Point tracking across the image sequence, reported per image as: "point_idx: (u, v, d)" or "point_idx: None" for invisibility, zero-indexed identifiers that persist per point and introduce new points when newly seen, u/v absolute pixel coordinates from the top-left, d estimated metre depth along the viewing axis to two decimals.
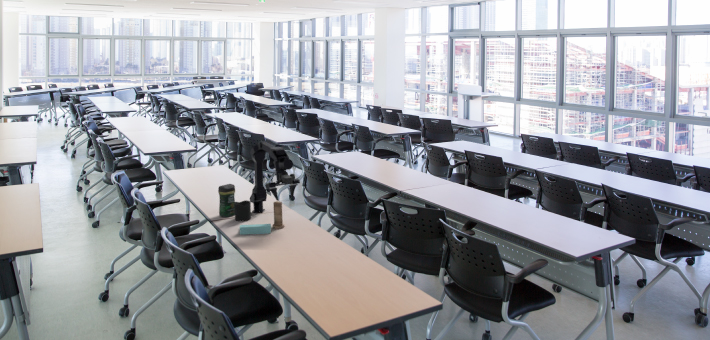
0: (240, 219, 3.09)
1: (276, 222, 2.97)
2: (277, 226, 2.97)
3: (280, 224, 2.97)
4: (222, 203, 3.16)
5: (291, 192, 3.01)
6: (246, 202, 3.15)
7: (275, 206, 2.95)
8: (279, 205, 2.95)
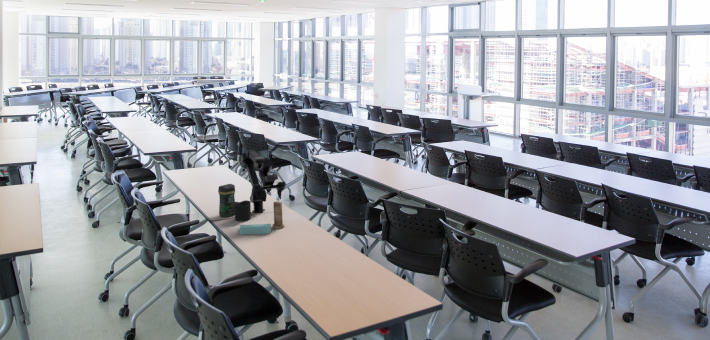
0: (240, 219, 3.09)
1: (276, 222, 2.97)
2: (277, 226, 2.97)
3: (280, 224, 2.97)
4: (222, 203, 3.16)
5: (279, 194, 3.07)
6: (246, 202, 3.15)
7: (275, 206, 2.95)
8: (279, 205, 2.95)
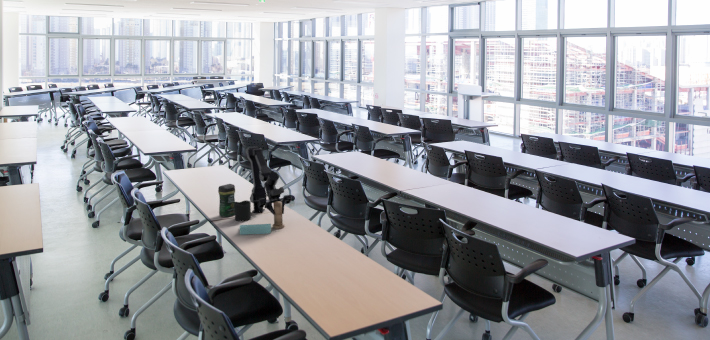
0: (240, 219, 3.09)
1: (276, 222, 2.97)
2: (277, 226, 2.97)
3: (280, 224, 2.97)
4: (222, 203, 3.16)
5: None
6: (246, 202, 3.15)
7: (275, 206, 2.95)
8: (279, 205, 2.95)
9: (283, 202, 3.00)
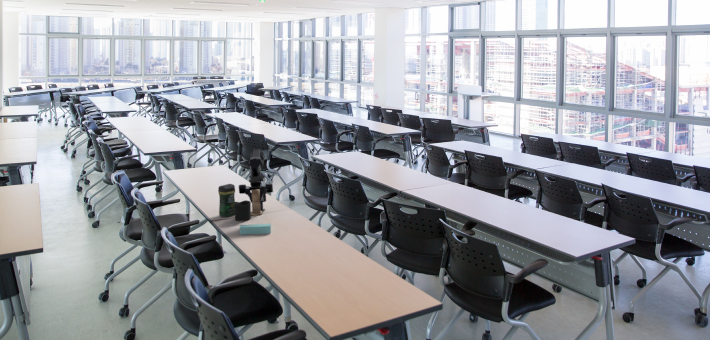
0: (240, 219, 3.09)
1: (253, 209, 3.01)
2: (253, 213, 3.01)
3: (257, 211, 3.01)
4: (222, 203, 3.16)
5: None
6: (246, 202, 3.15)
7: (252, 193, 2.99)
8: (255, 192, 2.98)
9: (262, 190, 3.02)
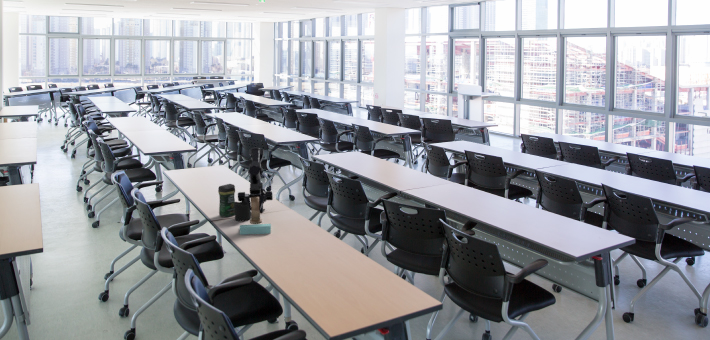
0: (240, 219, 3.09)
1: (252, 217, 2.95)
2: (253, 221, 2.95)
3: (256, 220, 2.95)
4: (222, 203, 3.16)
5: None
6: (246, 202, 3.15)
7: (251, 201, 2.94)
8: (254, 200, 2.93)
9: (262, 198, 2.97)
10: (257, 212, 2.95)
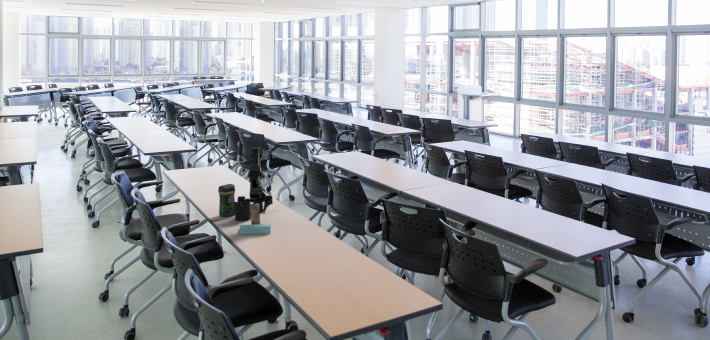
0: (240, 219, 3.09)
1: (252, 224, 2.93)
2: None
3: None
4: (222, 203, 3.16)
5: None
6: (246, 202, 3.15)
7: (251, 208, 2.92)
8: (254, 207, 2.91)
9: (266, 202, 2.95)
10: (257, 219, 2.93)
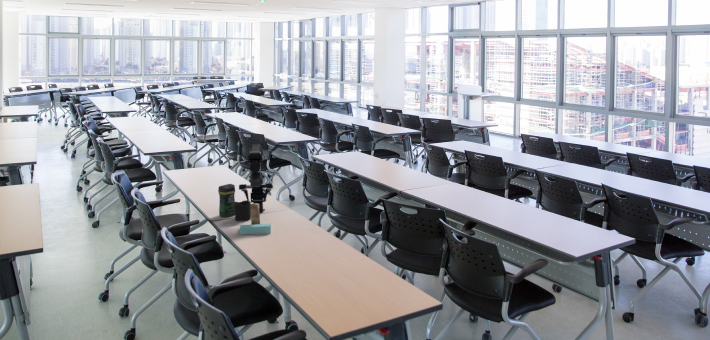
0: (240, 219, 3.09)
1: (252, 224, 2.93)
2: None
3: None
4: (222, 203, 3.16)
5: (264, 196, 3.07)
6: (246, 202, 3.15)
7: (251, 208, 2.92)
8: (254, 207, 2.91)
9: (266, 191, 3.05)
10: (257, 219, 2.93)
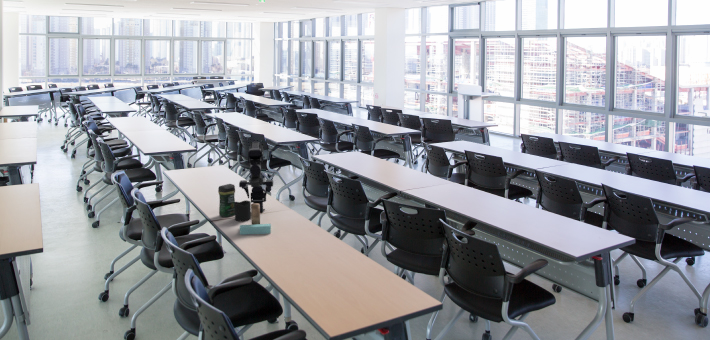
0: (240, 219, 3.09)
1: (252, 224, 2.93)
2: None
3: None
4: (222, 203, 3.16)
5: (265, 192, 3.09)
6: (246, 202, 3.15)
7: (251, 208, 2.92)
8: (254, 207, 2.91)
9: (266, 188, 3.06)
10: (257, 219, 2.93)
